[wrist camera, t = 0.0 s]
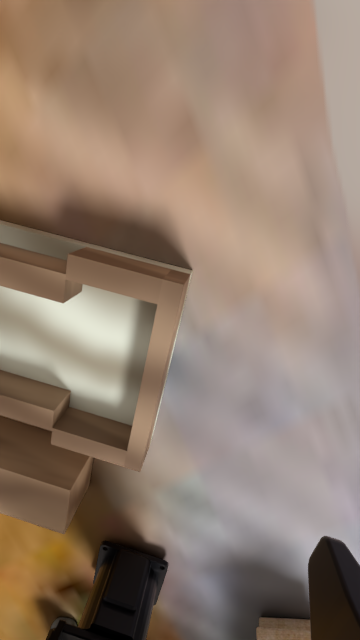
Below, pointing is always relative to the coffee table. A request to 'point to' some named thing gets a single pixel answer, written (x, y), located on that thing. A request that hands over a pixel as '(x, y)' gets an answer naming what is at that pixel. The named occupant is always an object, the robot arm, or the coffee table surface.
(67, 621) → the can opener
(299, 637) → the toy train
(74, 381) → the jig
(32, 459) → the long tan block
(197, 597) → the coffee table surface
